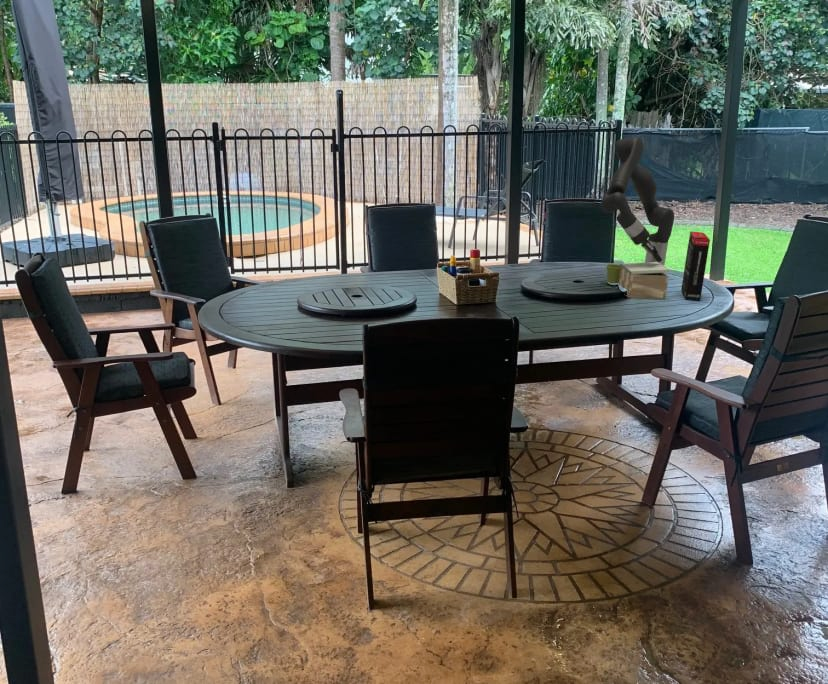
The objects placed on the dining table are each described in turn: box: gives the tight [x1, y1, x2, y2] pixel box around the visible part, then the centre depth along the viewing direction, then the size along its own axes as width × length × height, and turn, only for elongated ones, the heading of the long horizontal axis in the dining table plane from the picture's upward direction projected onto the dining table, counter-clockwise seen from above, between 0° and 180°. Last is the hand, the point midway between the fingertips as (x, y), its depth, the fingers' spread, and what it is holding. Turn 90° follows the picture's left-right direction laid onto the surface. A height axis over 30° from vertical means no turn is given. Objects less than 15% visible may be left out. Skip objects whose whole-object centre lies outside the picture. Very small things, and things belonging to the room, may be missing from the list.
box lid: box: [619, 262, 670, 274], centre depth 334 cm, size 16×17×1 cm
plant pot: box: [605, 263, 621, 283], centre depth 350 cm, size 9×9×9 cm
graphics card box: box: [681, 230, 711, 301], centre depth 335 cm, size 17×7×27 cm, turn 168°
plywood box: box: [619, 267, 669, 300], centre depth 336 cm, size 16×16×10 cm
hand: (660, 261), depth 336 cm, fingers closed
